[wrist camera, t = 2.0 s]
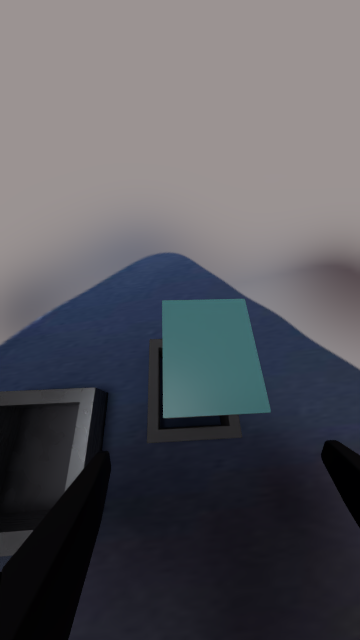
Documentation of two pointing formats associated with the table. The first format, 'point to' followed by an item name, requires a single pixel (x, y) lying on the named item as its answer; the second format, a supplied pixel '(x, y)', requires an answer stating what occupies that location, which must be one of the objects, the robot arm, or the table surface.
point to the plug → (210, 360)
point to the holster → (157, 434)
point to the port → (43, 453)
